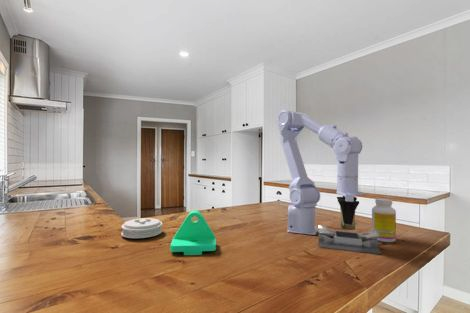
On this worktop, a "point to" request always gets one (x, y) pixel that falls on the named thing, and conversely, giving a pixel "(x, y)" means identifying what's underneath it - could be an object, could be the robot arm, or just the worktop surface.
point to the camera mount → (193, 236)
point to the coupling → (347, 226)
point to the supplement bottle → (384, 220)
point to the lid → (141, 228)
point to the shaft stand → (349, 240)
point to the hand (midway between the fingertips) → (347, 222)
